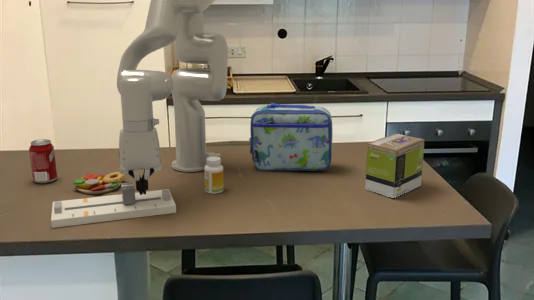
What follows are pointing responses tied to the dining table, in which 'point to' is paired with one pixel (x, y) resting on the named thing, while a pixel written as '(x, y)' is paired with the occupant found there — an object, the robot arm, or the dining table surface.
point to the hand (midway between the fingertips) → (142, 192)
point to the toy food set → (99, 183)
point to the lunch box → (291, 137)
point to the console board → (110, 208)
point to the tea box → (394, 165)
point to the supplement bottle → (214, 175)
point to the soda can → (43, 161)
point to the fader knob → (128, 193)
